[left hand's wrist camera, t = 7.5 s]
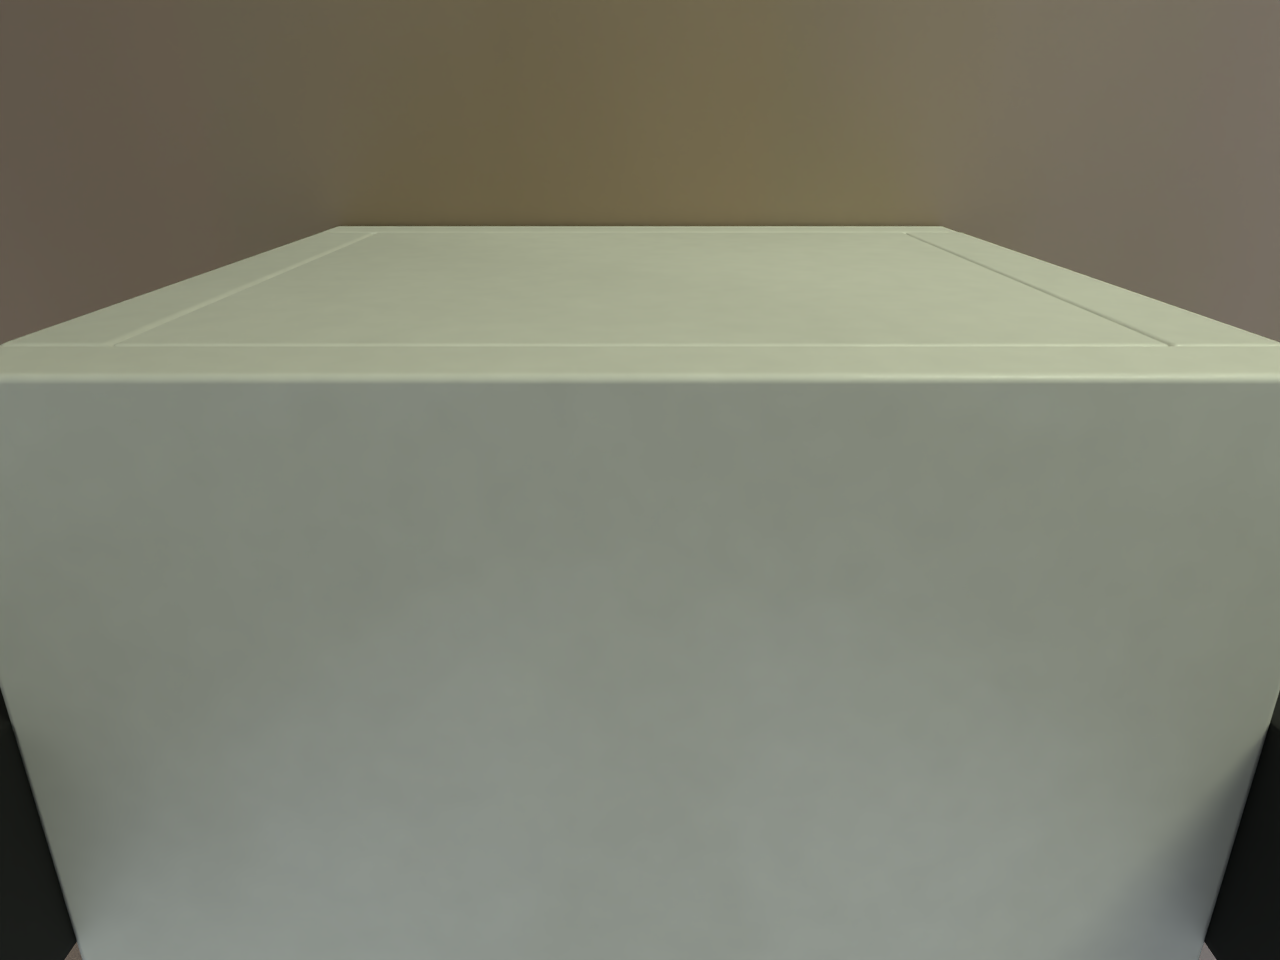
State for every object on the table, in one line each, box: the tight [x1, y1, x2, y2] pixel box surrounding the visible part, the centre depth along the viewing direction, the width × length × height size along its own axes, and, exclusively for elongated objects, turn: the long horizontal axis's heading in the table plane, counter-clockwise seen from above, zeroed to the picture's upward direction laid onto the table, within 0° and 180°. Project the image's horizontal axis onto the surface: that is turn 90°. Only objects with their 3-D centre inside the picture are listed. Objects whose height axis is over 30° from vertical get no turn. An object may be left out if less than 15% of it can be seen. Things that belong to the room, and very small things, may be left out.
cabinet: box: [0, 226, 1280, 960], centre depth 16 cm, size 18×12×11 cm, turn 0°
